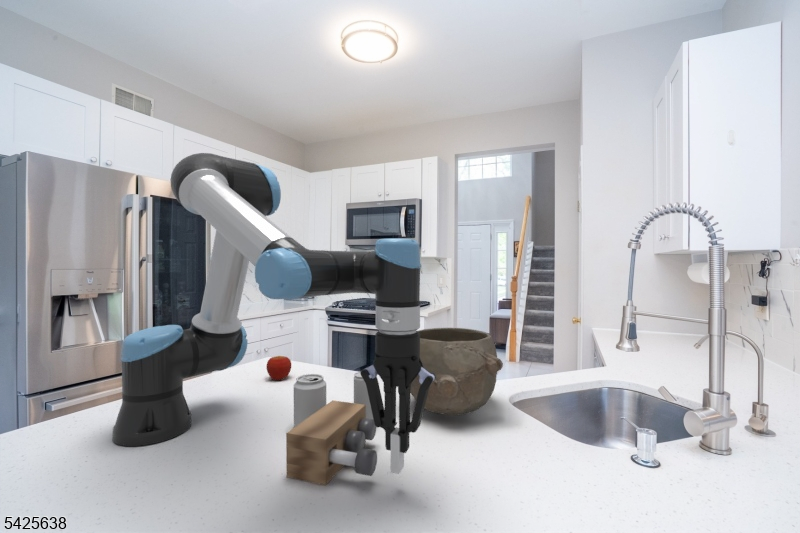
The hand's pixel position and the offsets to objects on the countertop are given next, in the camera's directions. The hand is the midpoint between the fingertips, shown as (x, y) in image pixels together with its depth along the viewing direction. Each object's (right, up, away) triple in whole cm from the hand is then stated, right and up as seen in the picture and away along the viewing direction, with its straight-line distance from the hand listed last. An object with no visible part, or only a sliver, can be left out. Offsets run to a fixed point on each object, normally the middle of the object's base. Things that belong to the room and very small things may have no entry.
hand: (397, 469), depth 65 cm
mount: (-13, -4, +11) cm, 18 cm away
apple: (-40, -3, +62) cm, 73 cm away
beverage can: (-8, -4, +27) cm, 28 cm away
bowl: (+13, -4, +36) cm, 39 cm away
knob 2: (-9, -2, +3) cm, 10 cm away
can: (-20, -4, +24) cm, 32 cm away
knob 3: (-10, -1, +16) cm, 19 cm away
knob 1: (-12, -2, +10) cm, 16 cm away
